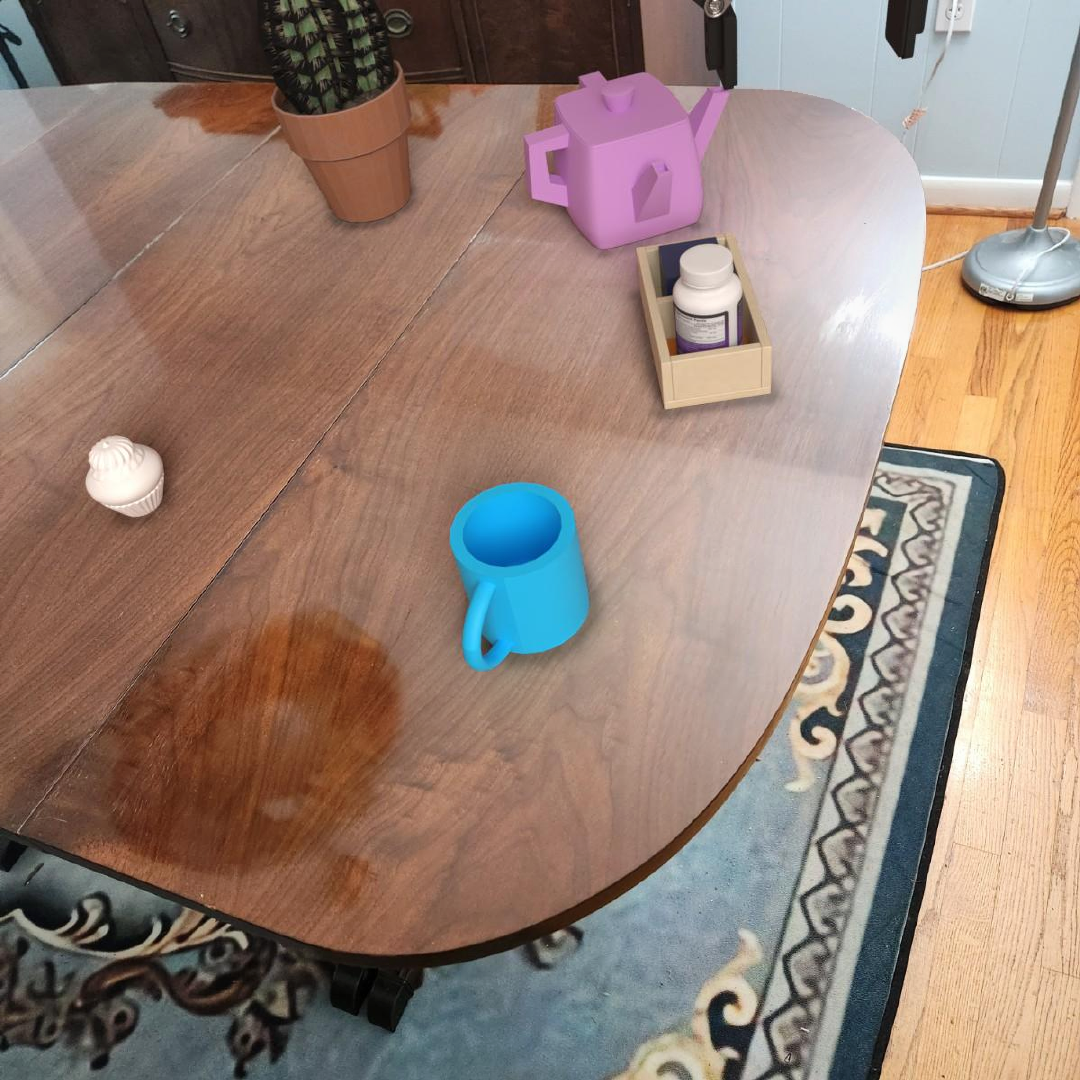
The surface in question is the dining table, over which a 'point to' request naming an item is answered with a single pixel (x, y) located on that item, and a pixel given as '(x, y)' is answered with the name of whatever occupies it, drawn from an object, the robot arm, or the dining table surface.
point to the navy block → (675, 261)
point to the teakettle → (624, 157)
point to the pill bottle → (707, 301)
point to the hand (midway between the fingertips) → (811, 64)
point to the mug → (518, 572)
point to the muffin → (125, 476)
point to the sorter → (711, 369)
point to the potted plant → (340, 101)
